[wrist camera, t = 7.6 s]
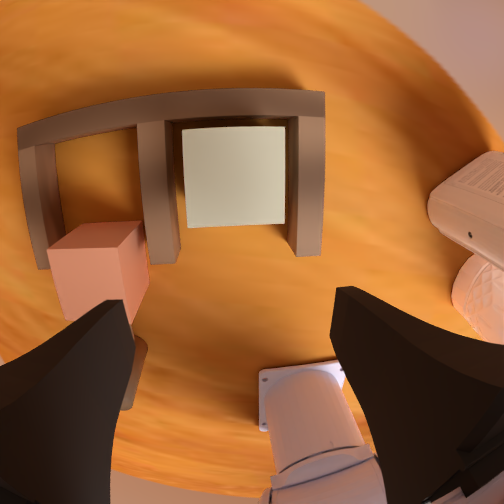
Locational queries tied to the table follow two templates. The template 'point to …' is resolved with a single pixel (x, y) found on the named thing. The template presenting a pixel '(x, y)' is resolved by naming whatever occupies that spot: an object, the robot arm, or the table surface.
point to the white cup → (481, 298)
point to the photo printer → (473, 207)
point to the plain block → (234, 176)
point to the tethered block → (103, 277)
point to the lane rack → (162, 160)
